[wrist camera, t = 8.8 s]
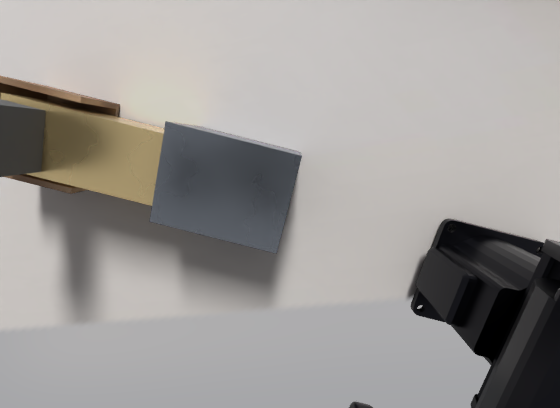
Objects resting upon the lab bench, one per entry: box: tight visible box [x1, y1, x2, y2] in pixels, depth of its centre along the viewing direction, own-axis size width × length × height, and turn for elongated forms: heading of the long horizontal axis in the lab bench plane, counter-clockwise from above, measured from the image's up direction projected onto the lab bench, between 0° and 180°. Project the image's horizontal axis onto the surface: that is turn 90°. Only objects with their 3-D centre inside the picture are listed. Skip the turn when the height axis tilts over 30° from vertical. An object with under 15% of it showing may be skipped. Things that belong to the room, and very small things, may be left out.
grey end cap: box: [150, 122, 302, 253], centre depth 17 cm, size 6×5×5 cm
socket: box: [0, 76, 120, 194], centre depth 17 cm, size 5×5×3 cm
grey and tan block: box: [0, 93, 164, 206], centre depth 14 cm, size 9×4×10 cm, turn 76°
